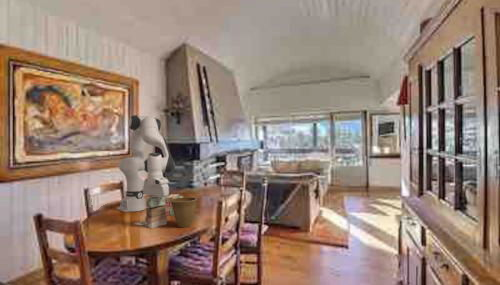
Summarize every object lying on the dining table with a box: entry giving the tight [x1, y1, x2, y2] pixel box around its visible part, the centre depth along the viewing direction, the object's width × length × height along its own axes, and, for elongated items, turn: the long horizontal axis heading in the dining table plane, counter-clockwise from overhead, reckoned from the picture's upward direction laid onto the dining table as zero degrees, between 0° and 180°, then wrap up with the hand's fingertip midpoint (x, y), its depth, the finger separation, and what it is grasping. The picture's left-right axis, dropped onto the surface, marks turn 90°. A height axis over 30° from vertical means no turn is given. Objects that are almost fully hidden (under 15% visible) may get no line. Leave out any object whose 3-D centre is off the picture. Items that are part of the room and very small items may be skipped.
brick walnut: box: [145, 205, 165, 218], centre depth 193 cm, size 5×10×5 cm, turn 145°
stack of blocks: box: [164, 193, 184, 216], centre depth 228 cm, size 21×6×12 cm, turn 174°
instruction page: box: [133, 220, 145, 226], centre depth 199 cm, size 7×9×1 cm
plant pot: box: [171, 196, 198, 228], centre depth 191 cm, size 15×15×16 cm
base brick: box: [144, 214, 168, 229], centre depth 193 cm, size 6×11×6 cm, turn 144°
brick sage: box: [145, 196, 165, 208], centre depth 193 cm, size 5×10×5 cm, turn 144°
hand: (155, 202), depth 193 cm, fingers closed on brick sage, 5 cm apart
